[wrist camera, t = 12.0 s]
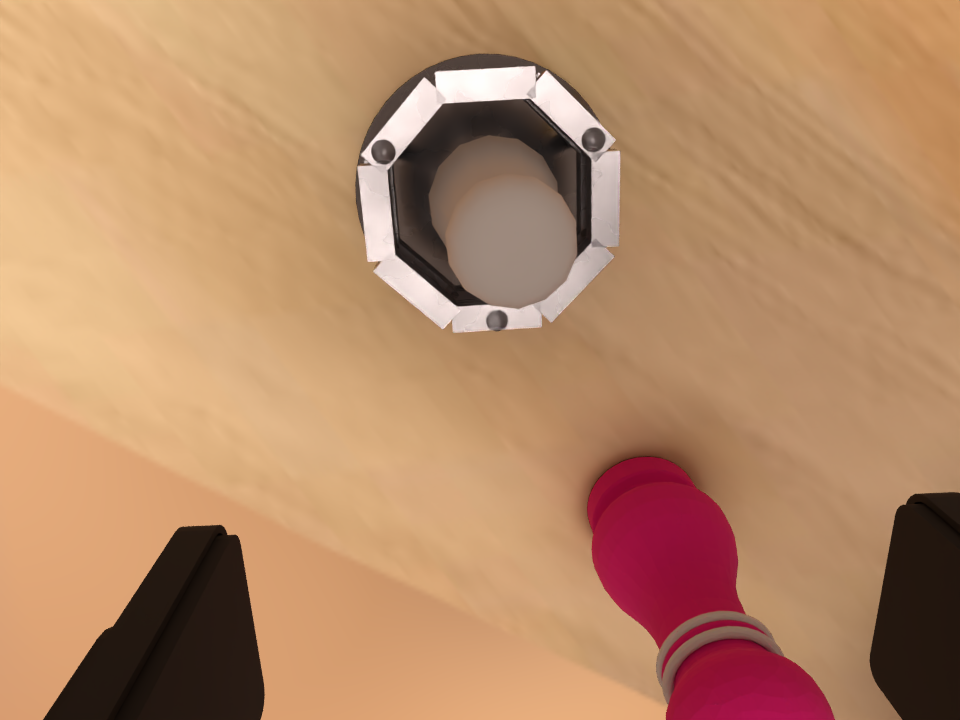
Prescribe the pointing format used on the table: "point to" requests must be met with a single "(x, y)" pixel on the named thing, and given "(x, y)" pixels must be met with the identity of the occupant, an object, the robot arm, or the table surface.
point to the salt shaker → (503, 222)
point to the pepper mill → (691, 598)
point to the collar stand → (463, 118)
